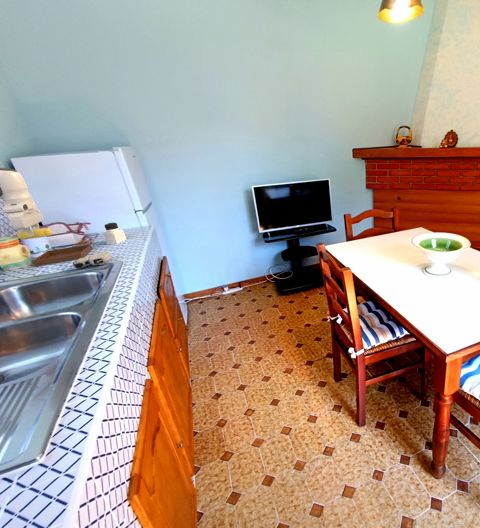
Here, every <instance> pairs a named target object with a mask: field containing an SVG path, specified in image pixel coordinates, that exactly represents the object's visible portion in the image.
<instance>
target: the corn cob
mask: <svg viewBox="0 0 480 528" xmlns="http://www.w3.org/2000/svg"><path fill="white" fill-rule="evenodd" d="M32 231H33V232H35V235H34V236H29V235H28V233H27V232H26V231H25V230H20V231H18V232H17V234H16V236H17V238H18V239H20V240H33V239H39V238H46V237H50V236H52V234H53V232H52V229H50V228H48V227H43V228H39V229H34V230H33V229H32Z"/></svg>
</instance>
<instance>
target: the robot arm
mask: <svg viewBox="0 0 480 528" xmlns="http://www.w3.org/2000/svg"><path fill="white" fill-rule="evenodd" d="M0 200H3V201H4V206H3V207H2V211H3V213H4V214H6V217H7V219H8V221H9V223H10V224H11V226H12V228H13V229H14V230H17V231H19V230H23V231H26V232H27V233H28V235H29V236H34V235H35V232H33V231H32V230H34V229H40V225H39V223H41V222H43V221H44V215H43V214H42V212H41V211H40V209H39V207H38V206H37V204H36V203H35V200H34V198H33V195H31V193H30V192H29V187H28V185H27V182H26V181H25V179H24V177H23V176H22V174H21V173H20V171H18V170H16V169H14V168H7V167H0Z"/></svg>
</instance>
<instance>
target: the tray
mask: <svg viewBox="0 0 480 528" xmlns="http://www.w3.org/2000/svg"><path fill="white" fill-rule="evenodd" d="M92 250H93V245H92V244H84V245H77V246H69V247H64V248H57V249H51V250H47V251H45V252H43V253H42V254H40V255H39V256H37V257H36V258H35V259H33V260H31V263H32V265H33V267H34V268H35V267H36V268H37V267H42V266H48V265H49V266H50V265H55V264H61V263H66V262H72V261H77V260H78V259H80V258H84V257H87V255H88V254H89V253H90V252H91V251H92Z"/></svg>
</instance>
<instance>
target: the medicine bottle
mask: <svg viewBox="0 0 480 528" xmlns="http://www.w3.org/2000/svg"><path fill="white" fill-rule="evenodd" d="M103 226H104V229H105V232H103V233H102V234H103V237H104V239H105V242H106V244H107V245H118V244H121V243H123V242H126V241H127V236H126V234H125V231H124V229H119V225H118V223H117V222H108V223H105V224H104V225H103ZM125 240H126V241H125ZM122 241H123V242H122ZM120 242H121V243H120Z"/></svg>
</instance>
